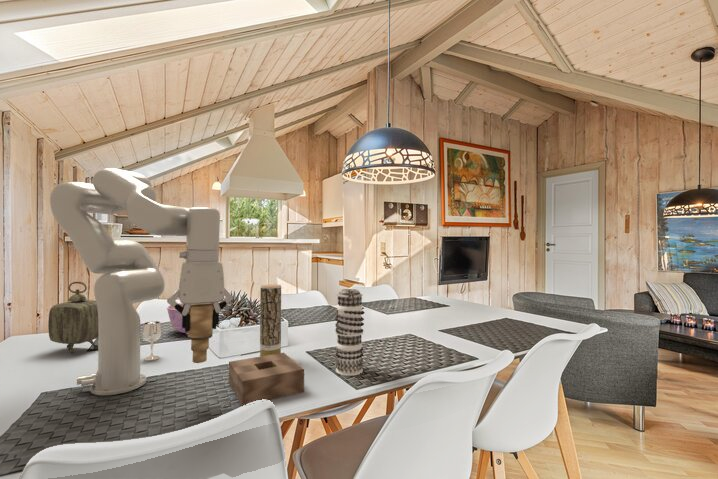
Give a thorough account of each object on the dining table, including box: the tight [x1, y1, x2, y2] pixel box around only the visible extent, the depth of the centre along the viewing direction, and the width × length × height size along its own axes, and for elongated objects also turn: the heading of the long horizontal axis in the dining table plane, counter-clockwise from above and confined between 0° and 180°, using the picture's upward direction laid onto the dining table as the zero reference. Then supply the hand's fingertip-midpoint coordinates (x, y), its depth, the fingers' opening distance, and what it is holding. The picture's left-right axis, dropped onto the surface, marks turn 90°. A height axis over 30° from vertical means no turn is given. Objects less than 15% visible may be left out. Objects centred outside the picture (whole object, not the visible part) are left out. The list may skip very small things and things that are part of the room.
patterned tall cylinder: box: [334, 288, 365, 377], centre depth 109 cm, size 9×9×25 cm
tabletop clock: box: [47, 281, 99, 354], centre depth 126 cm, size 14×9×25 cm, turn 84°
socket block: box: [228, 352, 305, 406], centre depth 96 cm, size 16×16×6 cm
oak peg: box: [187, 303, 214, 364], centre depth 88 cm, size 6×6×14 cm
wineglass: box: [141, 320, 163, 361], centre depth 119 cm, size 6×6×12 cm
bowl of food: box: [166, 302, 214, 333], centre depth 153 cm, size 20×20×12 cm
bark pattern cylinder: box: [259, 283, 282, 357], centre depth 118 cm, size 7×7×25 cm
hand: (200, 328), depth 88 cm, fingers closed on oak peg, 5 cm apart
